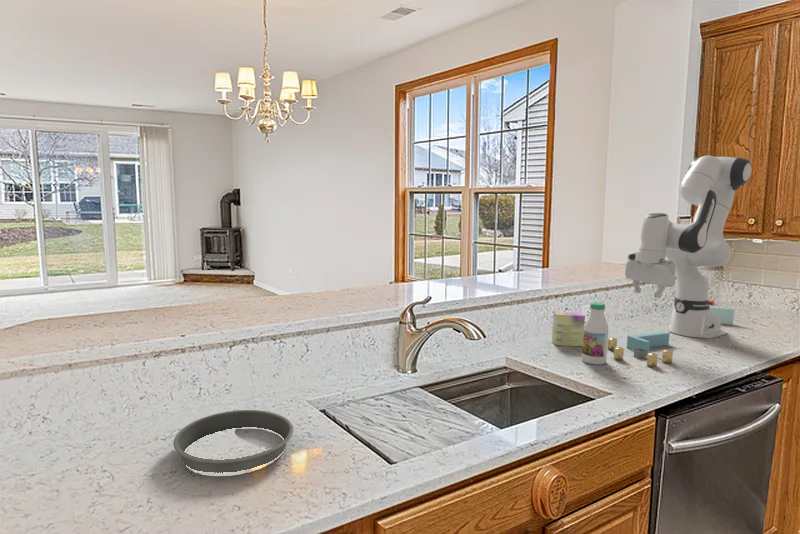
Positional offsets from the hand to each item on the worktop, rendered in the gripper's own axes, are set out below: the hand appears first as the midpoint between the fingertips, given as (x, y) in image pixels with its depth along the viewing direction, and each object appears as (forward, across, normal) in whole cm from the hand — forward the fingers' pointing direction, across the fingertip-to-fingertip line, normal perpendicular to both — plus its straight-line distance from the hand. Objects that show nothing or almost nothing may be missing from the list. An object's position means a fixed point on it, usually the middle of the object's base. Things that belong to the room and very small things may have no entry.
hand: (647, 295), depth 194 cm
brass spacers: (+20, -10, +14) cm, 26 cm away
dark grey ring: (+27, -33, +146) cm, 153 cm away
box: (+21, +11, +25) cm, 34 cm away
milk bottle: (+21, -9, +30) cm, 38 cm away
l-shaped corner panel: (+17, +20, -64) cm, 69 cm away
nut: (+20, -10, +11) cm, 25 cm away
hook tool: (+19, -4, -2) cm, 20 cm away
